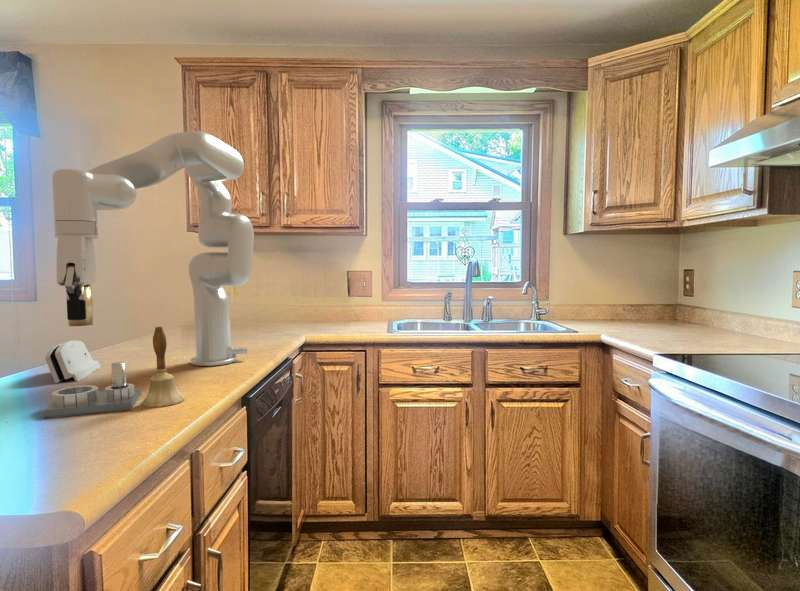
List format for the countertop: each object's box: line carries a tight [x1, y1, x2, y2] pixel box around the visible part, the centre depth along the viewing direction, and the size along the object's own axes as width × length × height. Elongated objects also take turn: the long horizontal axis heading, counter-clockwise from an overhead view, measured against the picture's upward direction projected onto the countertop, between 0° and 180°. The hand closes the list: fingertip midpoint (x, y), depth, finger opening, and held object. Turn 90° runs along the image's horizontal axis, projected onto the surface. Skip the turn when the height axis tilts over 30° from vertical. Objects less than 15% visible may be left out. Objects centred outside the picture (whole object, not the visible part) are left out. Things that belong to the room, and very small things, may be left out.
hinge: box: [44, 340, 102, 384], centre depth 130 cm, size 17×5×10 cm, turn 13°
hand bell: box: [141, 326, 186, 408], centre depth 105 cm, size 8×8×16 cm
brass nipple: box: [67, 285, 94, 327], centre depth 105 cm, size 4×4×8 cm
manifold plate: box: [42, 361, 142, 419], centre depth 103 cm, size 15×12×8 cm
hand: (80, 317), depth 105 cm, fingers closed on brass nipple, 4 cm apart
